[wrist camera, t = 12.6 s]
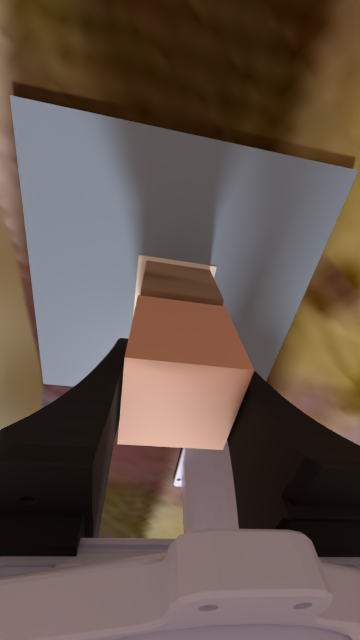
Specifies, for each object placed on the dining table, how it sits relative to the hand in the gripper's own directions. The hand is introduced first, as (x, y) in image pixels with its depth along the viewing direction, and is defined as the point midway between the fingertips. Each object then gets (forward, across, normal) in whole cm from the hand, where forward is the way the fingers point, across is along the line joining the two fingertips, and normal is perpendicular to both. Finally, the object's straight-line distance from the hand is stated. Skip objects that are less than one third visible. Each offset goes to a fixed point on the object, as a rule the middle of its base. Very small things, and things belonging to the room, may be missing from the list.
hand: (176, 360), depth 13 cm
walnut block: (+8, 0, 0) cm, 8 cm away
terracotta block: (+2, 0, 0) cm, 2 cm away
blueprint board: (+8, 0, 0) cm, 8 cm away
